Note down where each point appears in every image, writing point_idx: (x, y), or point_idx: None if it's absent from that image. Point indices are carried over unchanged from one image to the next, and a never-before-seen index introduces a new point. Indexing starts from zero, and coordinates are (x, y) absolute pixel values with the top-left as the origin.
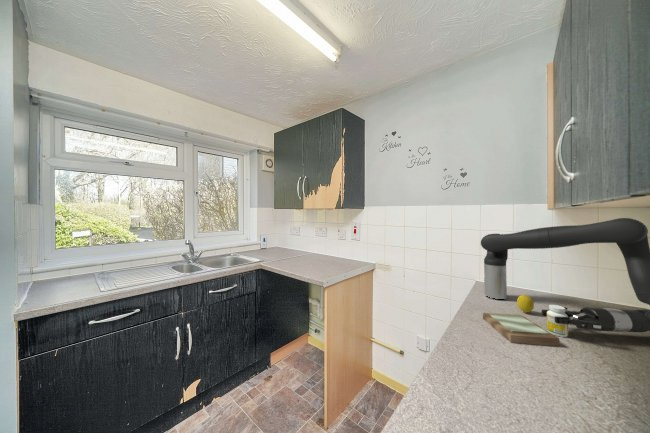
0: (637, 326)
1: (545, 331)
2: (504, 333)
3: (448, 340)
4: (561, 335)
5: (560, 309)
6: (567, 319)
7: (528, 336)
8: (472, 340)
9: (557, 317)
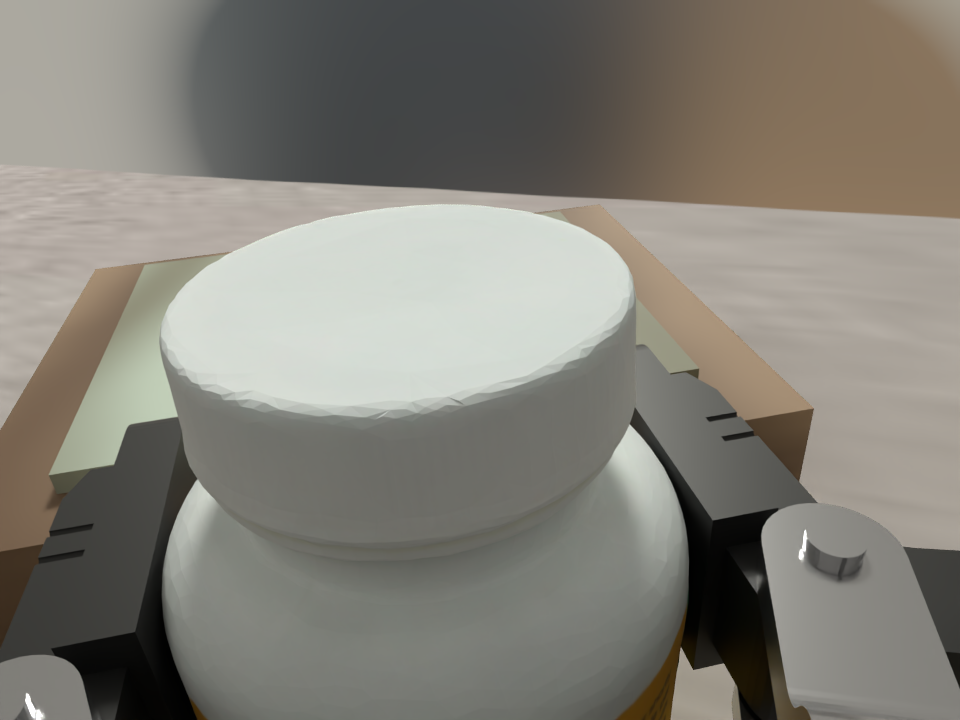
0: None
1: (114, 460)
2: None
3: (157, 179)
4: None
5: (168, 313)
6: (37, 623)
7: (55, 345)
8: (157, 223)
9: (130, 430)
